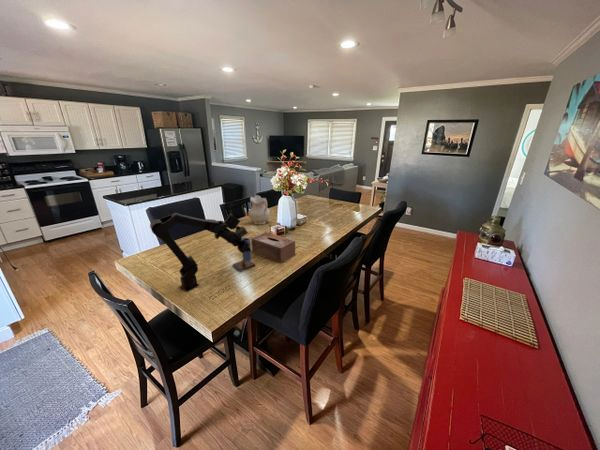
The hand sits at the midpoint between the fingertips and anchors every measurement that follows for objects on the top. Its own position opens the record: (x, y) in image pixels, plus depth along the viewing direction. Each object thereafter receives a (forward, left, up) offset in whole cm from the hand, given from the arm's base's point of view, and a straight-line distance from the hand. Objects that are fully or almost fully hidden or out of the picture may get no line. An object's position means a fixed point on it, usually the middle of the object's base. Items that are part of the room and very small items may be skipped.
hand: (248, 249), depth 139 cm
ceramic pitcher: (+64, +49, -12) cm, 82 cm away
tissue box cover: (+22, 0, -12) cm, 25 cm away
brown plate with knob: (-1, +4, -12) cm, 13 cm away
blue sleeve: (-1, 0, -7) cm, 7 cm away
